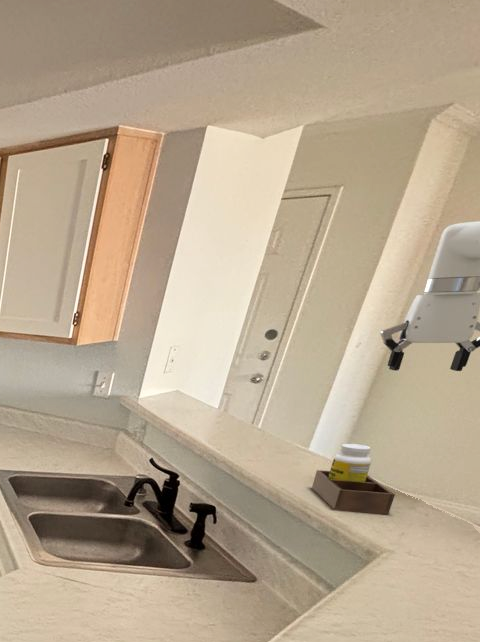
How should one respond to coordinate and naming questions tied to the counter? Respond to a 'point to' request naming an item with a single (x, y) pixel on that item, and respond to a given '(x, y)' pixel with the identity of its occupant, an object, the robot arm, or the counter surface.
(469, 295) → the robot arm
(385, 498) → the divided box
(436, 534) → the counter surface
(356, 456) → the pill bottle
